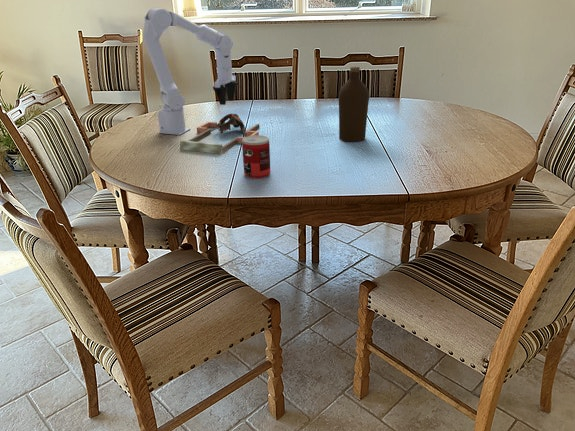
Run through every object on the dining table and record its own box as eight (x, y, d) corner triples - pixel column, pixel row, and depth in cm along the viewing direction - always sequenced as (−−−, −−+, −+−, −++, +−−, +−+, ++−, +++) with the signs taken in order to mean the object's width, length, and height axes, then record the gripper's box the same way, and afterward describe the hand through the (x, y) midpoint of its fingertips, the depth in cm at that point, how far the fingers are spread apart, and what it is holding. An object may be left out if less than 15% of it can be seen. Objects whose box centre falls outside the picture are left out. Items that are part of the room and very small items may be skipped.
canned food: (243, 170, 149) (241, 135, 144) (269, 169, 149) (268, 134, 144) (244, 179, 142) (241, 143, 137) (271, 178, 142) (269, 142, 138)
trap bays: (187, 138, 180) (187, 132, 179) (208, 126, 193) (207, 121, 193) (248, 144, 172) (248, 138, 171) (266, 131, 185) (265, 126, 185)
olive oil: (345, 144, 170) (347, 71, 159) (332, 136, 179) (334, 66, 168) (372, 140, 173) (376, 68, 162) (358, 132, 182) (361, 63, 171)
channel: (180, 149, 168) (179, 141, 167) (222, 124, 195) (222, 117, 194) (221, 153, 163) (220, 145, 162) (259, 127, 190) (259, 120, 189)
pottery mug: (246, 137, 181) (234, 120, 177) (225, 147, 184) (213, 130, 180) (250, 121, 190) (238, 104, 186) (230, 130, 194) (218, 114, 189)
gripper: (225, 70, 180) (227, 107, 186) (241, 64, 193) (243, 98, 199) (208, 70, 183) (211, 106, 189) (225, 64, 195) (228, 97, 201)
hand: (227, 102), depth 194 cm, fingers open, 7 cm apart
